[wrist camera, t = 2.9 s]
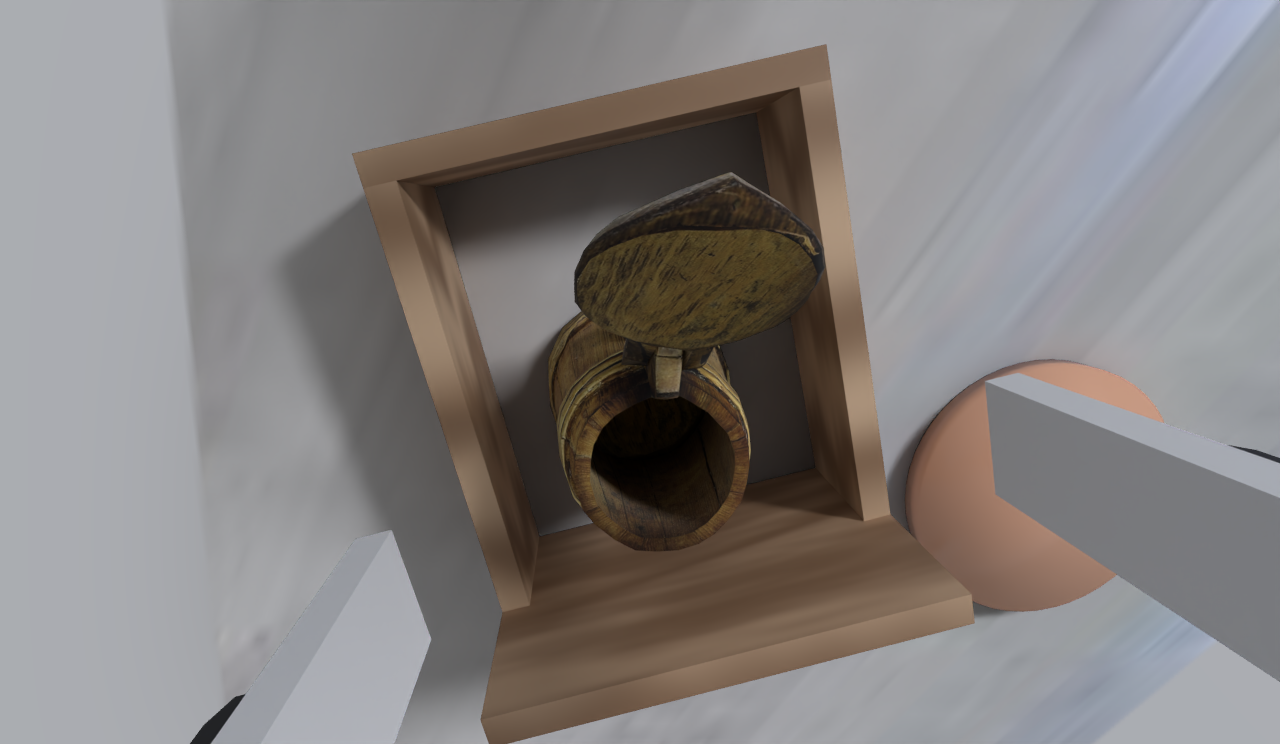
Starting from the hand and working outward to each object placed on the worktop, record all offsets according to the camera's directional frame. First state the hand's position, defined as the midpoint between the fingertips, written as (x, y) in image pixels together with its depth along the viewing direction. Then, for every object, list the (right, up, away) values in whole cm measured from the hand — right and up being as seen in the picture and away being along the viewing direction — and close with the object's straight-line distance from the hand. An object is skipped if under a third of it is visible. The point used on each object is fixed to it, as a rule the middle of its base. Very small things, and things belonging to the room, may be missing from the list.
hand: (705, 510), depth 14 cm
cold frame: (-1, +5, +17) cm, 18 cm away
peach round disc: (+20, -3, +21) cm, 29 cm away
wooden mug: (-1, +5, +18) cm, 18 cm away
